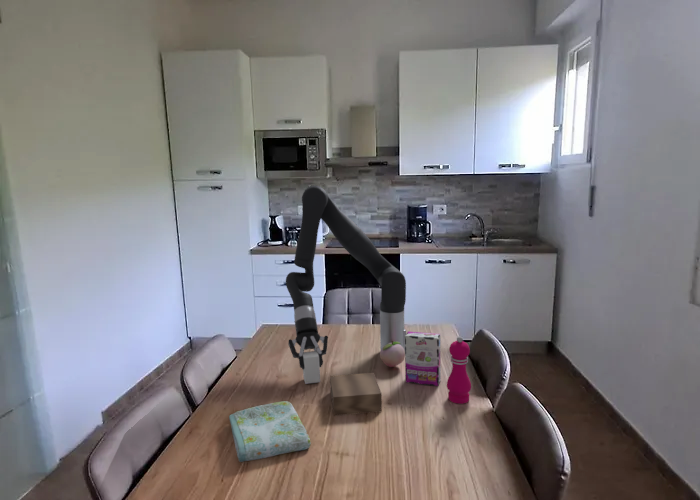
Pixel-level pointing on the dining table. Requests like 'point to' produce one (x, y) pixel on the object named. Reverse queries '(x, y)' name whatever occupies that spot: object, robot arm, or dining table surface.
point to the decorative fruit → (392, 354)
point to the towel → (268, 431)
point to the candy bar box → (422, 358)
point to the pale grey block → (311, 367)
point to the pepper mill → (459, 373)
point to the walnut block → (355, 394)
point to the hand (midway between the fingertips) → (311, 367)
